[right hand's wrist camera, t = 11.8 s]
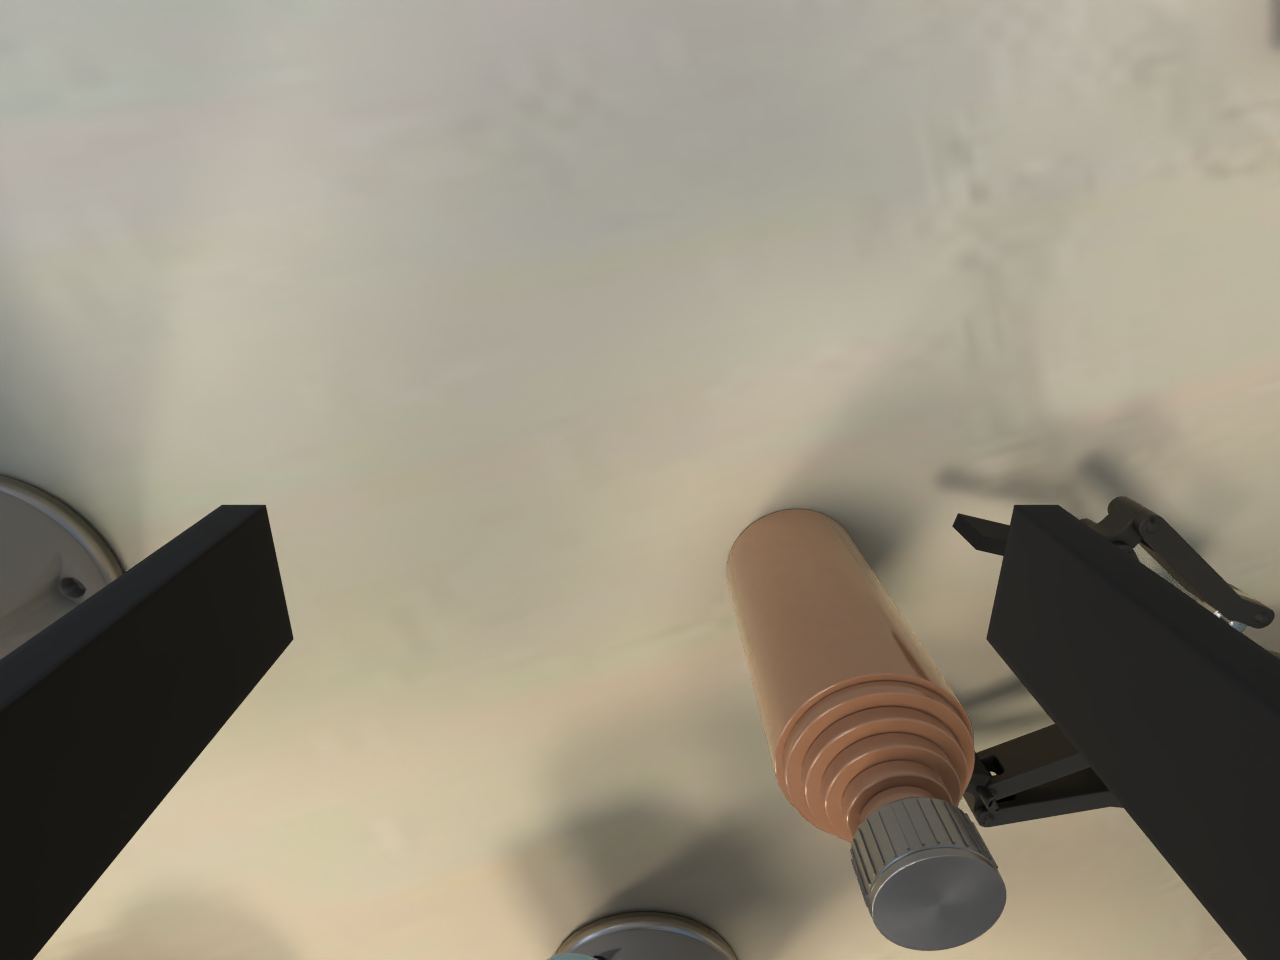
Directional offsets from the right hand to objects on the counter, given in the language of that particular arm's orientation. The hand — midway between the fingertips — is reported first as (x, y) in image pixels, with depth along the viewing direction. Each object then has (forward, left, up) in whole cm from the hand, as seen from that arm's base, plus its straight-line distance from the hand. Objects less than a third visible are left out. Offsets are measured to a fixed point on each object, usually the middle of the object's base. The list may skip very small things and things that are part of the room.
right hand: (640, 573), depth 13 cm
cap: (-7, -16, -5) cm, 18 cm away
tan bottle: (-7, -16, -27) cm, 32 cm away
